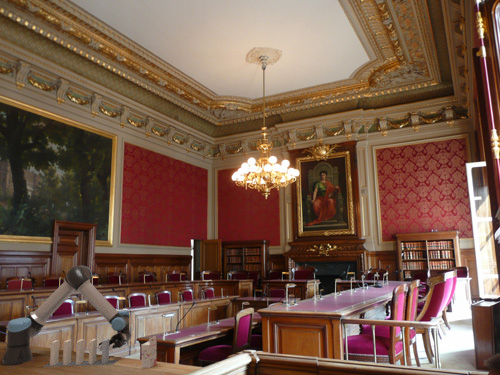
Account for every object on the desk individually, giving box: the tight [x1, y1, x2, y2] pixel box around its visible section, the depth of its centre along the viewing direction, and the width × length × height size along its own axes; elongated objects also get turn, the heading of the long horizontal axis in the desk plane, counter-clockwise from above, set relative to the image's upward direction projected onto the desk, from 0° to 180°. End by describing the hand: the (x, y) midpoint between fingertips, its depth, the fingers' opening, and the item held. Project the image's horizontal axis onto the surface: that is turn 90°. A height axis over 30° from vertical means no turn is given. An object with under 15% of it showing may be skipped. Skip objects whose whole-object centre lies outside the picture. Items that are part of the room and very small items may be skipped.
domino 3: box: [75, 338, 85, 365], centre depth 230 cm, size 2×6×12 cm, turn 0°
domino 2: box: [62, 339, 73, 365], centre depth 230 cm, size 2×6×12 cm, turn 0°
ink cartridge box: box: [140, 335, 157, 369], centre depth 222 cm, size 9×5×15 cm, turn 168°
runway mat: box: [42, 359, 119, 368], centre depth 229 cm, size 38×10×1 cm, turn 90°
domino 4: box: [88, 338, 98, 364], centre depth 230 cm, size 2×6×12 cm, turn 0°
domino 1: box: [49, 339, 60, 366], centre depth 230 cm, size 2×6×12 cm, turn 0°
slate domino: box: [101, 337, 110, 364], centre depth 230 cm, size 2×6×12 cm, turn 0°
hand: (104, 348), depth 228 cm, fingers open, 5 cm apart
